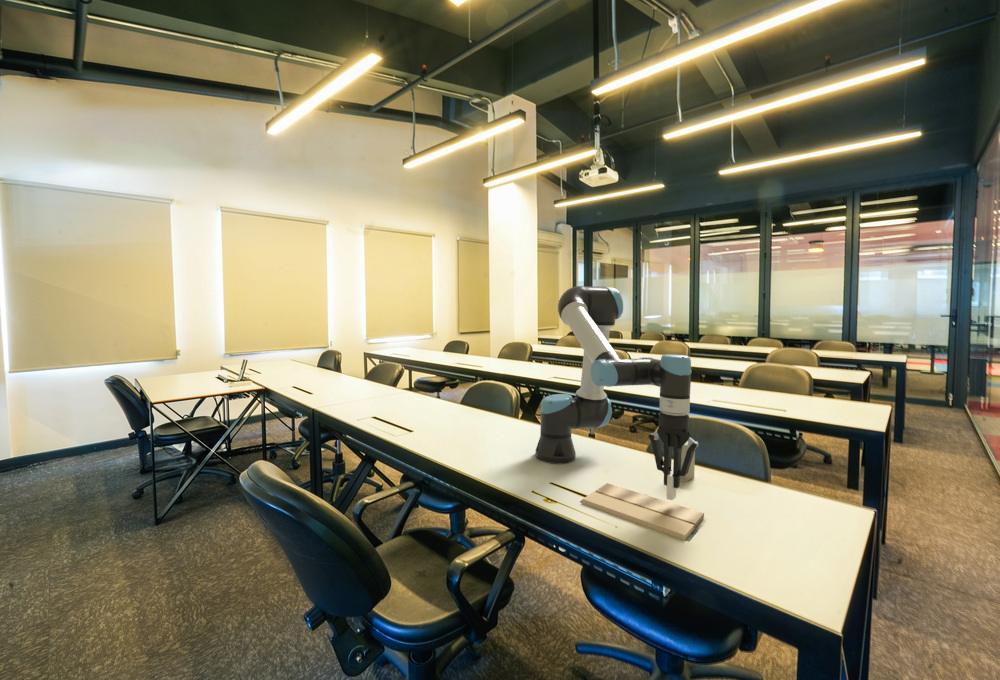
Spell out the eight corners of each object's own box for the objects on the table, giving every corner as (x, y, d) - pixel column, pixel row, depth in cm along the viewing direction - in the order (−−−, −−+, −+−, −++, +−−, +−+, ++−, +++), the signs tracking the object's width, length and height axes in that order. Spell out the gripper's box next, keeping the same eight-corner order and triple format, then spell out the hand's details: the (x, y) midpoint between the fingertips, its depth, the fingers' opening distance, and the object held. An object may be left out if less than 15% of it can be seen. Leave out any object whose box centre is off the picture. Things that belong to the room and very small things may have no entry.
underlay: (579, 505, 119) (579, 497, 119) (604, 489, 130) (605, 482, 130) (689, 545, 99) (689, 536, 99) (708, 522, 110) (708, 514, 110)
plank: (595, 494, 124) (595, 490, 124) (607, 486, 129) (607, 483, 129) (695, 528, 105) (695, 523, 105) (704, 517, 110) (704, 513, 110)
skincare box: (685, 482, 136) (686, 445, 136) (672, 477, 140) (673, 442, 139) (694, 477, 140) (696, 441, 139) (681, 473, 144) (683, 438, 143)
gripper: (644, 410, 114) (642, 495, 115) (695, 419, 105) (691, 510, 106) (655, 406, 119) (653, 487, 121) (704, 414, 111) (701, 500, 112)
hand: (671, 498), depth 114 cm, fingers closed
